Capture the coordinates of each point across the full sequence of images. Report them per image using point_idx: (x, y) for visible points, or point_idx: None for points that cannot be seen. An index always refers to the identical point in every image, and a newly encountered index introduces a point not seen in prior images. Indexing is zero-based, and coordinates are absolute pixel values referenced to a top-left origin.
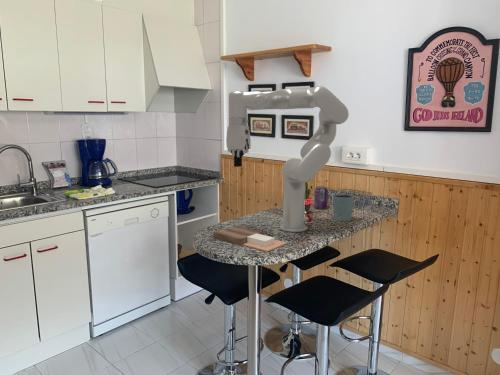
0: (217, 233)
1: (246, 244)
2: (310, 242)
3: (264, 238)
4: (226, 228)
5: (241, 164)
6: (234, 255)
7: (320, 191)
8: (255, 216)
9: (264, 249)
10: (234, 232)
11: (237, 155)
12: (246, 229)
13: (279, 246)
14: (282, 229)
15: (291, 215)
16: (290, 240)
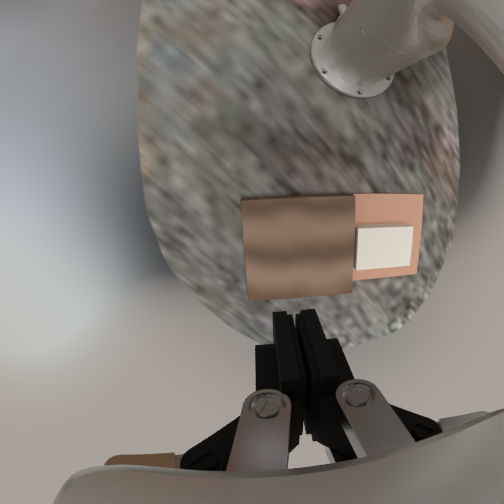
0: (266, 299)
1: (358, 276)
2: (450, 150)
3: (398, 250)
4: (245, 248)
5: (316, 320)
6: (373, 333)
7: None
8: (157, 33)
9: (408, 272)
10: (297, 261)
11: (336, 451)
12: (301, 211)
13: (420, 227)
14: (346, 95)
15: (388, 75)
16: (414, 165)
